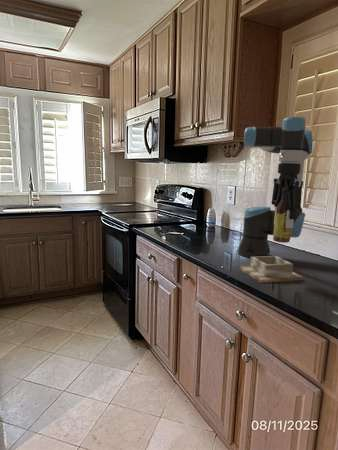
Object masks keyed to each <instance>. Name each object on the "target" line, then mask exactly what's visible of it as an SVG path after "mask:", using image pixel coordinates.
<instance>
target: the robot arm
mask: <svg viewBox="0 0 338 450" xmlns="http://www.w3.org/2000/svg"><path fill="white" fill-rule="evenodd" d="M243 144H244V146H245V147H249V148H253V147H255V148H257V147H258V148H259V149H260V150H262V151H264V152H268V153H271V154H277V155H278V154H279V156H278V161H279V162H280V163H278V167H277V174H279V177H278V178H273V189H272V195H271V196H272V198H271V202H270V203H271V205H273V207H274V210H272V208H271V207H270V206H254V207H248V208H246V209H245V211H244V214H243V215H244V217H243V231H242V239H241V241H240V243H239V245H238V247H237V254H238V255H240V256H241V257H245V258H250V259H251V257H259V256H271V250H270V246H269V241H268V236H273V232H274V224H275V216H276V210H277V205H278V204H279V203H280V201H281V196H282V188H286V191H287V194H288V204H289V209H287V217H286V226H285V228H292V231H291V238H294V239H296V238H297V239H298V238H299V237H300V236H301V233H302V229H303V225H304V222H305V217H306V213H305V212H303V208H302V192H303V191H302V189H303V185H304V181H303V177H304V176H303V175H304V169H305V160H307V159H309V155H312V154H313V132H312V131H311V130H309V129H306V118H305V117H302V116H290V117H289V116H288V117H285V118H284V119H283V120H282V125H281V126H249V127H246V128H245V130H244V133H243ZM292 206H293V207H292Z"/></svg>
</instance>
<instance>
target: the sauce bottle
mask: <svg viewBox="0 0 338 450" xmlns="http://www.w3.org/2000/svg"><path fill="white" fill-rule="evenodd" d="M292 207H293V206H292ZM287 209H289V204H288V194H287V191H286V188H282V196H281V201H280V203H279V204H278V205H277V210H276V216H275V224H274V232H273V235H272V236H273V238H272V240H273V241H274V242H277V243H286V244H287V243H289V242H290V241H291V238H292V237H291V231H292V228H285V226H286V217H287Z"/></svg>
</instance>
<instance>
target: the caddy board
mask: <svg viewBox="0 0 338 450" xmlns="http://www.w3.org/2000/svg"><path fill="white" fill-rule="evenodd" d="M249 261H250V262H249V265H239V270H240V271H242V272H243V273H245V274H247V275H248V276H249V277H252V279H254V280H255V281H257V282H259V283H261V284H262V283H278V282H293V281H303V279H304V277H303V276H302V275H300V274H298V273H296V272H294V271H293V270H294V264H293V263H292V262H290V261H288V260H285V259H283V258H281V257H280V256H277V255H270V256H259V257H251V258H250V260H249Z"/></svg>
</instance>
